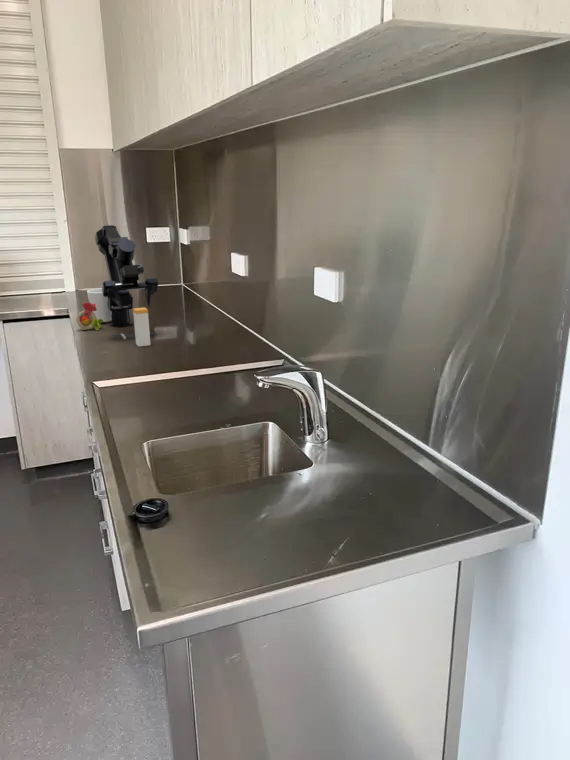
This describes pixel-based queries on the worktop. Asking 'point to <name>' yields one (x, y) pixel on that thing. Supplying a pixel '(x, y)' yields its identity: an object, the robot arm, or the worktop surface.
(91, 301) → the cup
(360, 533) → the worktop surface
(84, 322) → the bird rattle
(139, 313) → the orange-topped grey block
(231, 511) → the worktop surface
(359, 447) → the worktop surface
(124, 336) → the cord bundle
